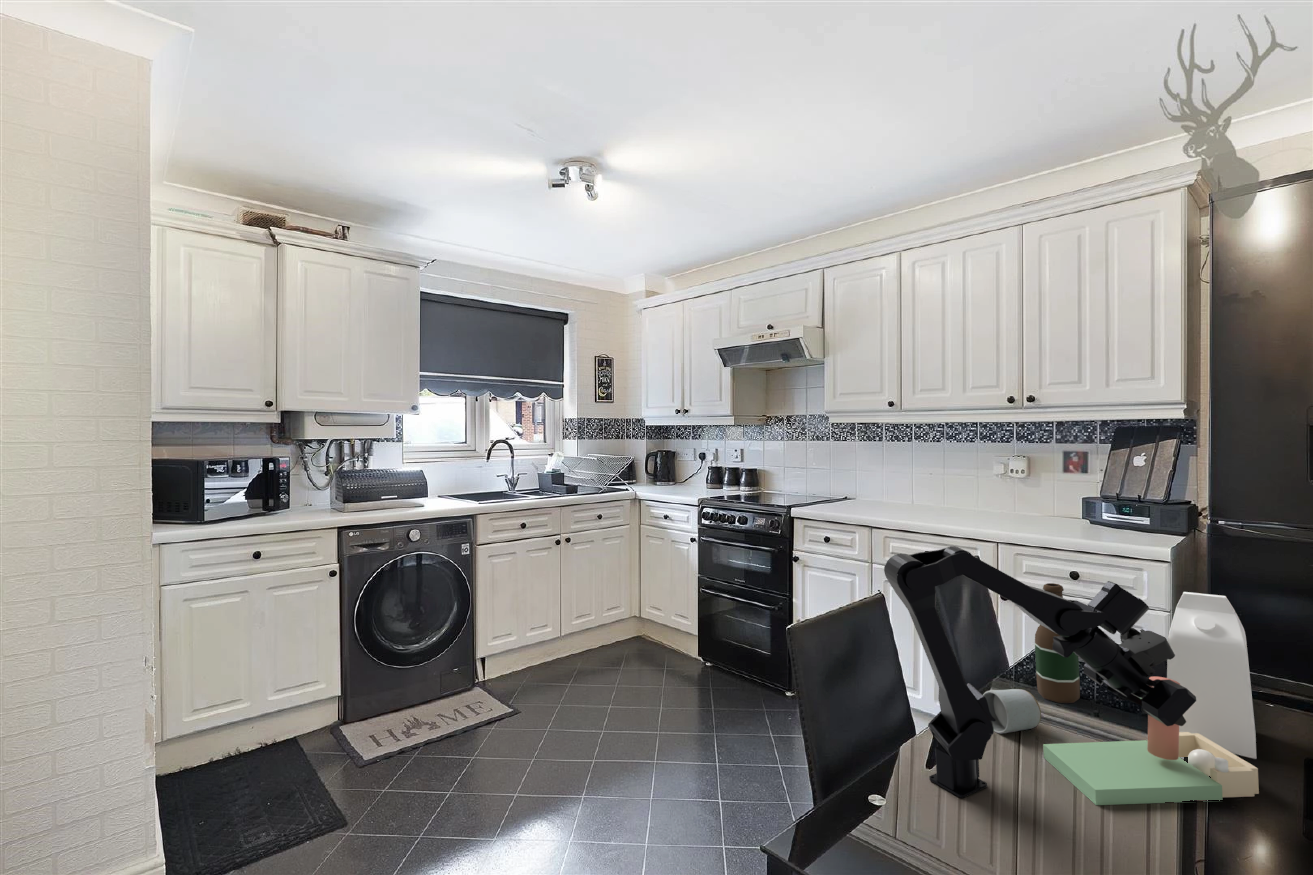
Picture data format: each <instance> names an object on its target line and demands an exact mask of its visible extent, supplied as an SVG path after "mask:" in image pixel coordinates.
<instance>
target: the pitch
mask: <svg viewBox="0 0 1313 875" xmlns="http://www.w3.org/2000/svg"><path fill="white" fill-rule="evenodd" d="M1147 745H1148V739H1145V740H1122V741H1121V740H1119V741H1117V740H1115V741H1094V742H1069V743H1068V742H1065V743H1044V744H1042V747H1043V748H1042V750H1043V759H1044V760H1045V761H1047V762H1048V763H1049V764H1050V765H1051V766H1052V767H1054V768H1055V769H1056V770H1057V771H1058V772H1059V774H1061V775H1062V776H1064V778H1066V779H1067V780H1068V781H1069V782H1070V783H1071V784H1072V785H1073V786H1074V787H1075V788H1076V789H1078V790H1079V792H1081V793H1082V794H1083V795H1084V796H1085V797H1086V798H1087V799H1089V800H1090V801H1091V802H1092V803H1093V804H1094V805H1095V806H1109V805H1111V806H1112V805H1136V804H1137V805H1139V804H1142V805H1143V804H1144V805H1145V804H1166V803H1165V802H1174V803H1183V802H1182V801H1190V800H1193V801H1194V800H1219V801H1218V802H1221V801H1220V800H1223V798H1224V797H1222V785H1221V784H1219V783H1218V782H1216V781H1214V780H1213V779H1211V778H1210V777H1209V776H1207V775H1206V774H1204V773H1203V772H1201V771H1200V770H1198V769H1197V768H1195V767H1193V766H1192V765H1190V764H1189V763H1187V762H1186V761H1184V760H1183V759H1181V758H1180V757H1179V758H1178V759H1177V760H1167V759H1163V758H1159V757H1157V756H1154V755H1152V754H1151V753H1149V752H1148V750H1147Z"/></svg>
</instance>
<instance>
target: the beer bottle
mask: <svg viewBox="0 0 1313 875" xmlns="http://www.w3.org/2000/svg"><path fill="white" fill-rule="evenodd" d="M1042 590H1044V591H1047V592H1050V593H1053V594H1055V595H1058V596H1060V597H1062V598H1064V596H1063V592H1064V591H1065V589H1064V587H1063V585H1061V584H1059V583H1054V582H1050V583H1045V584H1044V585H1043V586H1042ZM1058 636H1060V635H1058V634H1056V633H1055V632H1053V631H1051V630H1049V629H1047V628H1046V627H1044V626H1042V625H1040V624H1039V626H1037V628H1036V632H1035V634H1034V652H1035V672H1036V686H1037V689H1036V690H1037V693H1038V694H1039V695H1040V696H1041V697H1042V698H1043V699H1044V700H1048V701H1051V702H1053V703H1054V702H1055V703H1058V704H1074V703H1076V702H1077V701H1079V699H1080V698H1081V685H1080V683H1081V682H1080V664H1079V663H1080V662H1079V657H1078V656H1077V655H1076V654H1075V653H1074V652H1073V653H1072V654H1071V655H1070V656H1069V657H1068V658H1065V657H1063V656H1062V655H1060V654H1058V653H1057V652H1055V651H1053V649H1052V648H1053V643H1054V640H1053V637H1058Z"/></svg>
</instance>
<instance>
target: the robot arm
mask: <svg viewBox="0 0 1313 875" xmlns="http://www.w3.org/2000/svg"><path fill="white" fill-rule="evenodd" d="M883 573H884V576H885V579H887V581H888V583H889V584H890V586H891V588H892V590H893V591H894V592H895V594H896V595H897V597H898V598H899V599H900V601H901V602H902V604H903V605H904V606H905V608H906V609H907V611H908V613H909V616H910V618H911V620H912V622H913V625H914V627H915V631H916V633H917V635H918V638H919V640H920V643H921V645H922V647H923V650H924V652H925V656H926V657H927V660H928V662H929V665H930V667H931V670H932V673H933V675H934V677H935V679H936V683H937V685H938V704H939V708H940V709H939V710H940V711H939V712H938V713H937V714H936V715H935V716H934V717H933V718H932V719H931V721H930V722H929V723H928V725H927V726H928V729H929V731H930V733H931V736H933V737H934V738H935V739H936V740H937V741H938V742H937V746H935V747H934V751H935V768H936V773H933V774H931V775H929V776H928V778H929V781H931V782H932V783H934V784H935V785H937V786H939V787H941V788H942V789H944V790H946V791H947V792H950V793H952V794H953V795H955V796H956V797H959V798H962V799H963V798H966V797H967V796H968V797H969V796H970V795H973V794H975V793H977V792H979V791H981V790H984V789H986V788H988V783H987V782H986V781H984V780H982V779H980V763H979V762H980V761H979V760H982V759H983V757H984V754H985V750H986V748H987V744H988V742H989V741H990V740H991V738H992V736H993V735H994V733H995V731H994V727H993V724H992V722H991V721H996V720H995V719H994V718H993V716H992V715H991V713H990V711H989V707H988V702H987V700H986V697H985V696H983V694H982V693H981V692H980V691H979V690H978V689H977V688H976V687H975V686H974V685H972V684H971V683H970V682H968V683H967V682H966V679H965V677H964V674H963V672H962V670H961V667H960V665H959V662H958V659H957V657H956V654H955V652H954V650H953V647H952V645H951V642H950V640H949V637H948V635H947V632H946V630H945V627H944V625H943V623H942V620H941V618H940V615H939V613H938V610H937V606H936V602H937V591H936V587H937V586H941V585H944V584H946V583H947V582H950V581H951V580H953V579H955V578H956V577H960V576H964V577H966V578H967V579H970V580H971V581H973V582H975V583H977V584H979V585H981V586H982V587H984V588H986V589H988V590H990V591H991V592H993V593H995V594H997V595H999V596H1001V597H1002V598H1004V599H1006V600H1008V601H1010V602H1012V603H1013V605H1015V606H1016V607H1018V609H1020V610H1021V611H1022V612H1023V613H1024V614H1025V615H1026V616H1028V617H1029V618H1030V619H1031V620H1033V621H1034V622H1035V623H1037V624H1039V625H1042V626H1044V627H1046V628H1047V629H1049V630H1051V631H1053V632H1055V633H1056V634H1058V635H1060V636H1058V637H1053V640H1054V643H1053V648H1052V649H1053V651H1055V652H1057V653H1058V654H1060V655H1062V656H1063V657H1065V658H1068V657H1069V656H1070V655H1071V654H1072V653H1073V652H1074V653H1075V654H1076V655H1077V656H1078V659H1080V660H1082V662H1084V664H1083V673H1084V674H1085V676H1087V677H1088V678H1089V679H1090V680H1092V681H1094V683H1096V684H1097V685H1099V686H1102V685H1103V684H1106V685H1107V687H1106V689H1107V691H1108V692H1111V693H1112V694H1114V695H1116V696H1117V697H1120V698H1122V699H1124V700H1127V701H1129V702H1130V703H1131V702H1132V703H1133V704H1137V705H1139V706H1140V707H1141V709H1140V711H1142V712H1143V713H1145V714H1147V716H1148V715H1150V716H1151V717H1153V718H1155V719H1156V720H1158V721H1160V722H1161V723H1163V724H1164V725H1166V726H1172V725H1174V724H1176V725H1179V726H1183V725H1184V724H1185V723H1186V720H1185V718H1184V717H1183V714H1184V713H1185V712H1186V711H1187V710H1188V709H1189V708H1190V707H1191V706H1192V705H1193V704H1194V703H1195V702H1196V696H1195V695H1193V694H1192V693H1191V692H1190V691H1189V690H1188V689H1187V688H1185V687H1183V686H1181V685H1179V684H1177V683H1175V682H1173V681H1171V680H1159V679H1156V680H1154V681H1153V680H1151V679H1149V677H1153V675H1154V674H1155V673H1156V672H1157V671H1156V670H1155V669H1154V668H1153V667H1155V666H1157V665H1160V664H1161V663H1164V662H1165V661H1166V662H1167V660H1168V659H1169V660H1170V659H1172V658H1174V657H1175V654H1174V652H1173V650H1172V649H1171V647H1170V645H1169V643H1168V638H1167V637H1166V636H1164V635H1160V633H1159V634H1158V633H1156V632H1154V631H1151V630H1145V629H1143V628H1142V629H1140V630H1138V629H1136V628H1134V626H1135V624H1136V623H1138V621H1139V620H1140V619H1141V618H1142V617H1144V615H1145V614H1146V613H1148V611H1149V610H1150V607H1149V605H1148V604H1147V603H1146V602H1145V601H1143V599H1141V598H1139V597H1137V596H1135V595H1134V594H1132V593H1131V592H1129V591H1128V590H1126V589H1124V588H1123V587H1121V586H1120V585H1119V584H1117V583H1115V582H1113V581H1110V580H1108V581H1106V582H1105V583H1104V585H1103V586H1102V587H1101V589H1100V590H1099V592H1098V593H1097V594H1096V595H1095V596H1094V597H1093V598H1092V599H1091V600H1090V601H1089V602H1087V604H1086V603H1083V602H1082V601H1079V600H1077V599H1075V600H1073V599H1067V598H1064V597H1063V598H1062V597H1060V596H1058V595H1055V594H1053V593H1050V592H1047V591H1045V590H1044V589H1041V588H1038V587H1035V586H1031V585H1027V584H1026V583H1023V582H1022V581H1020V580H1018V579H1016V578H1014V577H1013V576H1011V575H1009V574H1007V573H1006V572H1004V571H1001V570H1000V569H998V568H996V567H994V566H992V565H990V564H989V563H986V562H985V561H983V560H981V559H980V558H978V557H975V556H974V555H973V554H972V553H971V552H970V551H968V550H965V549H963V548H961V547H958V546H956V545H953V546H952V545H950V546H948V547H944V548H940V549H935V550H928V551H923V552H922V551H920V552H916V553H912V554H907V553H897V554H894V555H892V556H891V557H889V559H887V560H886V563H885V565H884V568H883ZM1101 628H1102V629H1101ZM1103 630H1104V631H1103ZM1105 631H1106V632H1108V633H1109V634H1111V635H1115V634H1117V633H1119V638H1120V641H1121V642H1120V644H1118V643H1117V642H1116V641H1115V640H1114V639H1113V638H1111V637H1110V636H1109V635H1108V634H1107V633H1106V632H1105ZM1152 686H1153V687H1154V688H1153V687H1152Z"/></svg>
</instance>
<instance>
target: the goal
mask: <svg viewBox="0 0 1313 875" xmlns="http://www.w3.org/2000/svg"><path fill="white" fill-rule="evenodd" d="M1196 749H1202V750H1206V751H1208V752H1210V753H1212V754H1213V755H1214V756H1215V757H1216V758H1214V763H1215V768H1210V777H1211V779H1213V780H1214V781H1216V782H1218V783H1219V784H1221V785H1222V797H1223V798H1241V797H1242V798H1244V797H1255V795H1259V794H1260V791H1259V790H1260V789H1259V768H1258V767H1256V766H1255V765H1253V764H1251V763H1250V762H1248V761H1246V760H1244V759H1243V758H1241V757H1239V755H1237V754H1233V753H1231V752H1229V751H1228V750H1226V749H1224V748H1223V747H1221V746H1219V745H1218V744H1216V743H1214V742H1212V741H1211V740H1209V739H1207V738H1206V737H1204V736H1202V735H1201V734H1199V733H1192V734H1191V733H1190V732H1179V757H1188V755H1189V753H1190V752H1191V751H1193V750H1196Z"/></svg>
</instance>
